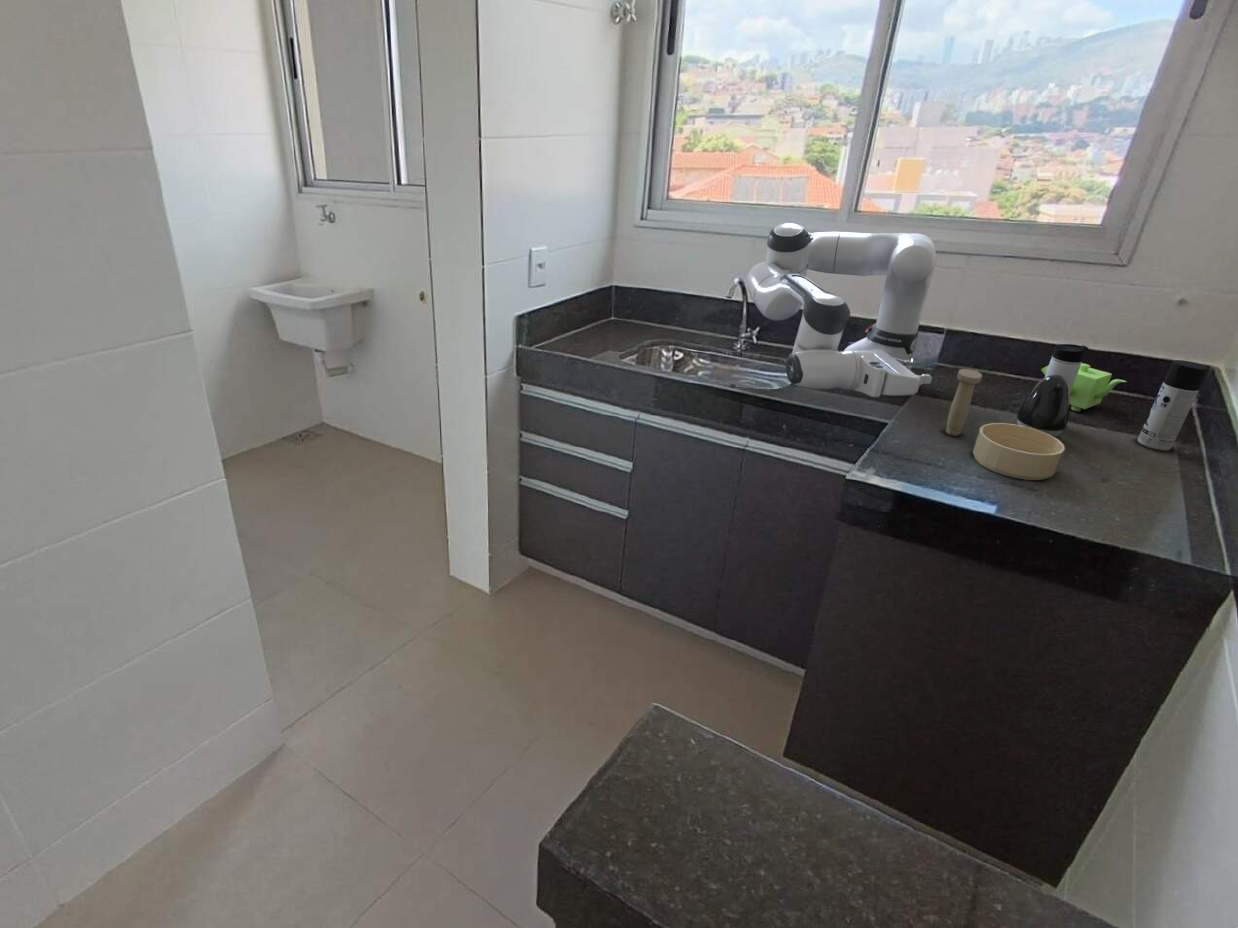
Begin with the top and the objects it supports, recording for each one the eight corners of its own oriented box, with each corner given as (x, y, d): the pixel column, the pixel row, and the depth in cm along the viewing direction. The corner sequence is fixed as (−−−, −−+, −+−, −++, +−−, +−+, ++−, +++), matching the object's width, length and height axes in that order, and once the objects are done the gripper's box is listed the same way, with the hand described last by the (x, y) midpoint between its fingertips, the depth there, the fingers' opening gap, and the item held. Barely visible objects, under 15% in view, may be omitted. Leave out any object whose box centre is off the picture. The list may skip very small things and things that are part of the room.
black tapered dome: (1015, 440, 158) (1036, 378, 151) (1009, 424, 167) (1029, 365, 160) (1064, 448, 155) (1088, 386, 148) (1055, 431, 164) (1077, 372, 157)
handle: (941, 436, 158) (958, 375, 151) (941, 426, 163) (958, 367, 157) (963, 440, 156) (982, 379, 150) (963, 430, 162) (981, 371, 155)
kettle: (1112, 417, 174) (1129, 376, 169) (1054, 412, 176) (1069, 371, 171) (1085, 397, 188) (1100, 358, 183) (1031, 392, 189) (1044, 353, 184)
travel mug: (1063, 429, 166) (1093, 350, 157) (1034, 426, 167) (1062, 347, 158) (1054, 419, 171) (1082, 343, 162) (1026, 416, 172) (1052, 340, 163)
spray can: (1140, 436, 164) (1175, 357, 155) (1173, 446, 160) (1211, 365, 150) (1133, 444, 159) (1169, 363, 150) (1168, 454, 155) (1207, 371, 146)
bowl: (960, 461, 146) (968, 436, 144) (986, 440, 157) (994, 417, 154) (1042, 488, 137) (1052, 462, 134) (1063, 465, 147) (1073, 440, 144)
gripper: (841, 368, 162) (897, 369, 163) (875, 400, 143) (938, 401, 144) (846, 342, 159) (903, 344, 160) (882, 372, 141) (946, 373, 142)
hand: (920, 371), depth 152 cm, fingers open, 8 cm apart
